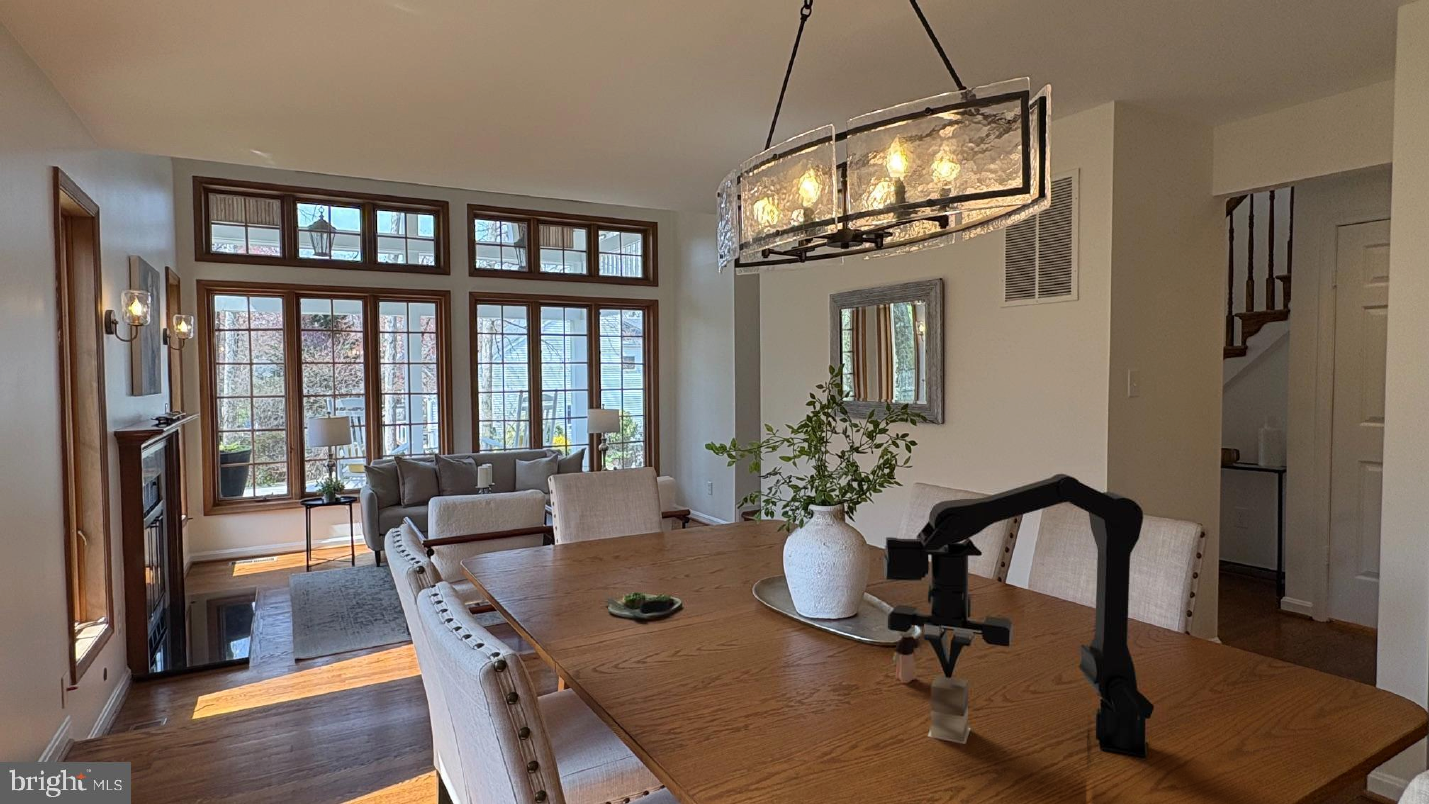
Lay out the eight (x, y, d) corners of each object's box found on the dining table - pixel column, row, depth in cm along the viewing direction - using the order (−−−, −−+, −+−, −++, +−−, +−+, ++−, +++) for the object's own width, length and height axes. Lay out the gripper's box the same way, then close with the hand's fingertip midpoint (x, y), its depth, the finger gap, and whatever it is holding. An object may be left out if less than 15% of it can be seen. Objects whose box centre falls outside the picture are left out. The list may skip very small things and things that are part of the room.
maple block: (967, 728, 125) (967, 704, 125) (963, 741, 121) (963, 716, 120) (936, 722, 127) (936, 698, 127) (930, 735, 123) (930, 710, 123)
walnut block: (968, 704, 125) (968, 680, 125) (963, 716, 120) (963, 691, 120) (936, 698, 127) (936, 675, 127) (931, 710, 123) (931, 686, 123)
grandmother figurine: (904, 676, 149) (905, 611, 149) (923, 681, 147) (923, 615, 146) (886, 688, 143) (886, 621, 143) (905, 694, 141) (905, 626, 140)
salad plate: (586, 615, 190) (586, 597, 189) (626, 596, 205) (626, 579, 205) (653, 626, 181) (653, 607, 181) (689, 606, 197) (689, 588, 197)
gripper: (1016, 575, 126) (1015, 669, 127) (902, 564, 134) (902, 651, 135) (1009, 593, 116) (1008, 694, 117) (887, 579, 124) (886, 674, 125)
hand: (948, 677), depth 124 cm, fingers closed
